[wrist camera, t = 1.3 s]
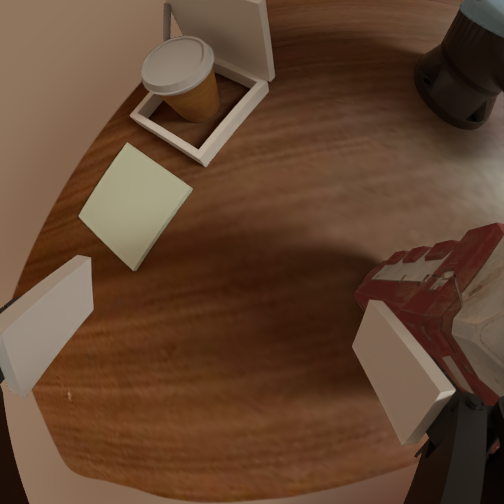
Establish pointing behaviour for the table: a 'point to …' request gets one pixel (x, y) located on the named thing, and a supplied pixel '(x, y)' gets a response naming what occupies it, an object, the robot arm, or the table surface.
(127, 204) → the board
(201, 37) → the access hatch
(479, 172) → the table surface
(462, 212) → the table surface
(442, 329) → the first aid kit
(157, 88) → the disposable coffee cup
